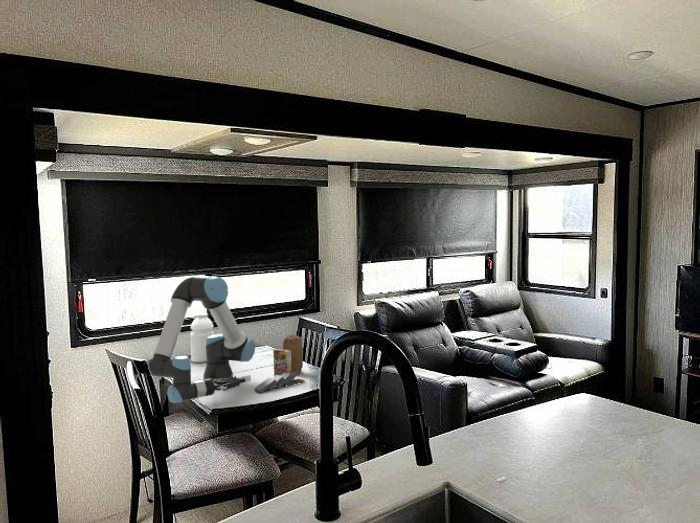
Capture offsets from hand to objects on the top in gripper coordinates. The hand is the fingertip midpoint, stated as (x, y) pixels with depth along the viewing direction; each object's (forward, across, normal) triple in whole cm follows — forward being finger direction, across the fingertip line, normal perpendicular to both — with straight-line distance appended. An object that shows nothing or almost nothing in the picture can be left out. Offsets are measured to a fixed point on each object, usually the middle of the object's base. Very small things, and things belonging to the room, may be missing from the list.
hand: (250, 378), depth 259 cm
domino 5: (+20, 0, -8) cm, 21 cm away
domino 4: (+19, -1, -6) cm, 20 cm away
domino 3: (+14, 0, -6) cm, 15 cm away
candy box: (+26, -12, -8) cm, 29 cm away
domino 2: (+9, 0, -7) cm, 11 cm away
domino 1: (+4, 0, -7) cm, 8 cm away
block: (+36, -18, -8) cm, 41 cm away
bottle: (+10, -76, -8) cm, 77 cm away
